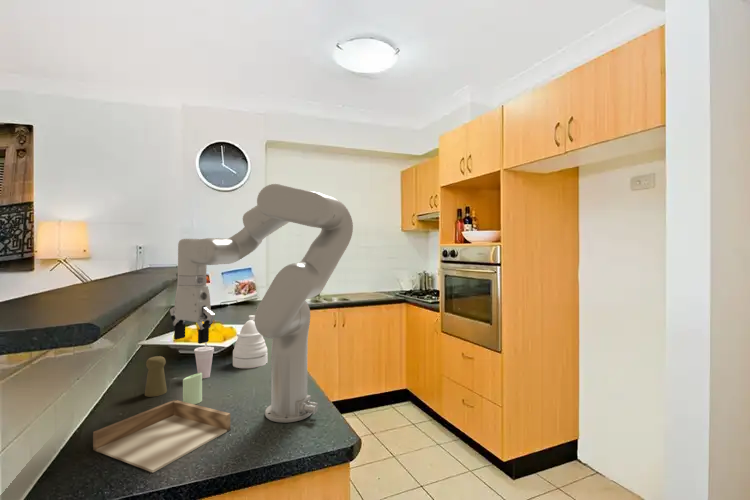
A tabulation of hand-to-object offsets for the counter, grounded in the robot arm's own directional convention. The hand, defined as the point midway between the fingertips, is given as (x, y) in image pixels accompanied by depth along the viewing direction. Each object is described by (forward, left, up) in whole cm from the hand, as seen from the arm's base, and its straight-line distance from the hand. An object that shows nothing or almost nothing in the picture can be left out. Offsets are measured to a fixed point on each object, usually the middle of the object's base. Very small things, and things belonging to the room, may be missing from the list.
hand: (191, 340), depth 111 cm
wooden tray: (-13, +18, -18) cm, 29 cm away
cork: (+16, 0, -18) cm, 24 cm away
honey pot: (+12, -36, -18) cm, 42 cm away
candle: (0, 0, -18) cm, 18 cm away
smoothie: (+15, -17, -18) cm, 29 cm away
